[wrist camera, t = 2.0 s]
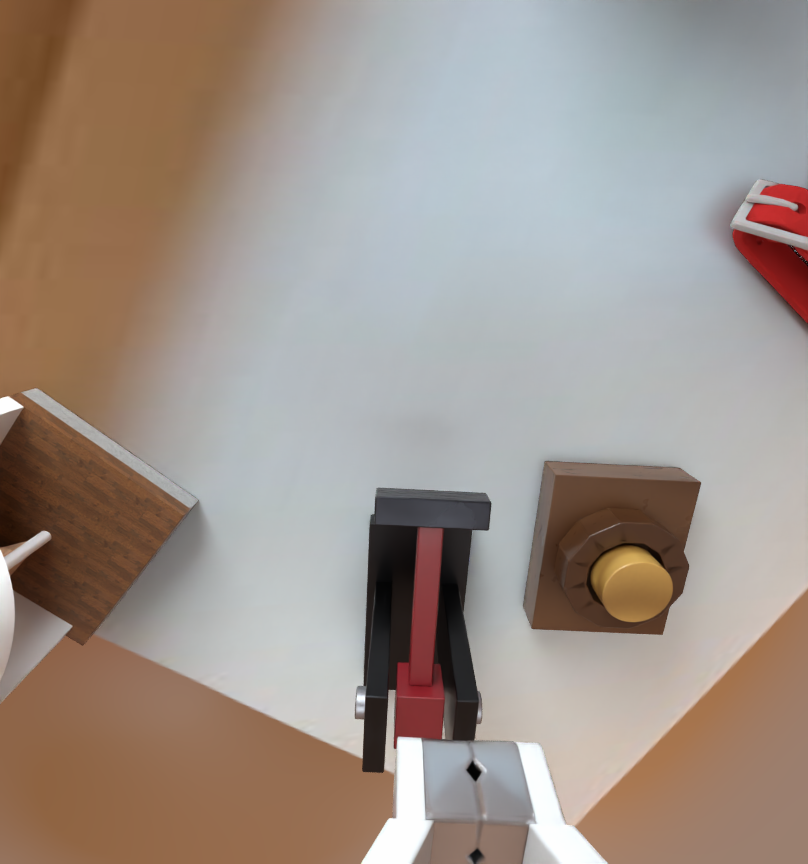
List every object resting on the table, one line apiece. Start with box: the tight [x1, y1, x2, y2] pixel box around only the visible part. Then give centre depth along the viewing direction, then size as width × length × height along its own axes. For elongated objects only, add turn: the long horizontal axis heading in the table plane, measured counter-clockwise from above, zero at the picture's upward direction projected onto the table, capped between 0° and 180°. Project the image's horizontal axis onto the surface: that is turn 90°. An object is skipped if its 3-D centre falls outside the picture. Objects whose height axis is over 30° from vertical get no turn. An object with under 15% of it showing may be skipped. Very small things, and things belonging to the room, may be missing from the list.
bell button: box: [590, 545, 673, 622], centre depth 26 cm, size 4×4×2 cm
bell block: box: [523, 461, 701, 635], centre depth 28 cm, size 10×8×4 cm
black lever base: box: [355, 515, 482, 773], centre depth 26 cm, size 12×6×10 cm, turn 177°
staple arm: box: [374, 488, 491, 749], centre depth 23 cm, size 12×5×2 cm, turn 177°
